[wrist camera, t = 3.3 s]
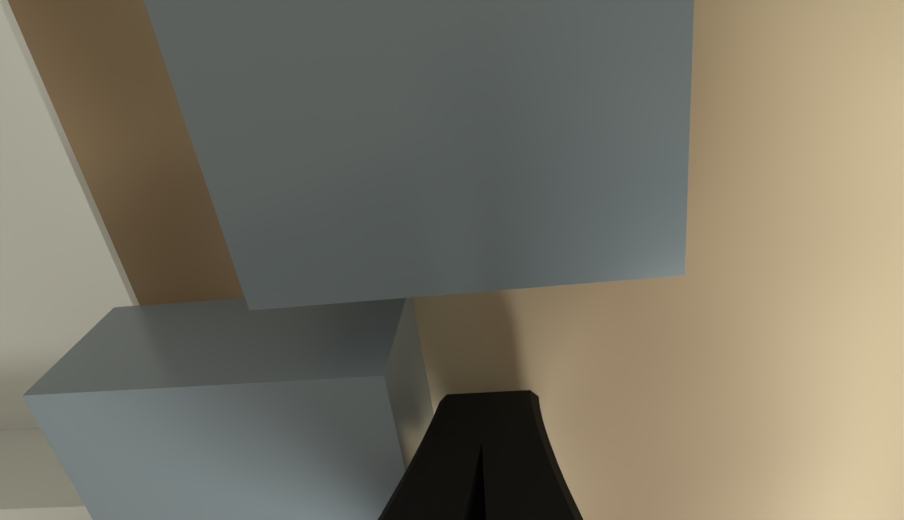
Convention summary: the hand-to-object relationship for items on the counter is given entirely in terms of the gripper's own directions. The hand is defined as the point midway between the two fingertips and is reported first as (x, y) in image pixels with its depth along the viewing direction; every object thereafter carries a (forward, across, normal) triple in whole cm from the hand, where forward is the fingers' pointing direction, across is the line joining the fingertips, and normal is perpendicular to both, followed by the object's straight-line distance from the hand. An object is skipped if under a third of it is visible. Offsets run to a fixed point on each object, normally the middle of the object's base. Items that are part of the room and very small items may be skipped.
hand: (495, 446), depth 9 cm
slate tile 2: (+1, +3, 0) cm, 3 cm away
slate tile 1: (+1, 0, -6) cm, 6 cm away
